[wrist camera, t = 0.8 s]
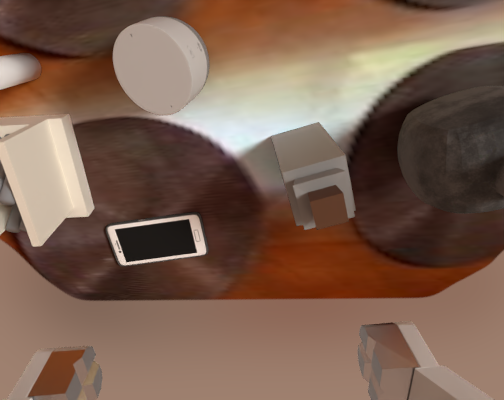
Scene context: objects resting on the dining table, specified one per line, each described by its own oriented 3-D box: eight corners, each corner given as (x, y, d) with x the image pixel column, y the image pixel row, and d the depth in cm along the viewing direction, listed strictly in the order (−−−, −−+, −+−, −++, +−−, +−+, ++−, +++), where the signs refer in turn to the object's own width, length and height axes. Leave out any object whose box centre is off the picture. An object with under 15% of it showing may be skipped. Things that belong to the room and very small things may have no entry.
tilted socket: (-16, 118, 48) (-92, 147, 36) (69, 113, 48) (18, 141, 37) (19, 212, 54) (-37, 262, 43) (94, 208, 54) (58, 256, 43)
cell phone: (209, 251, 59) (209, 255, 58) (120, 263, 59) (118, 267, 58) (200, 209, 55) (199, 213, 54) (105, 223, 56) (103, 226, 55)
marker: (9, 52, 44) (-56, 61, 34) (37, 51, 44) (-20, 59, 34) (18, 81, 46) (-42, 98, 36) (45, 80, 46) (-7, 96, 36)
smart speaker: (120, 38, 44) (74, 45, 32) (187, 2, 43) (166, -6, 30) (161, 109, 48) (135, 141, 35) (224, 78, 47) (219, 100, 34)
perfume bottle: (282, 179, 53) (303, 248, 37) (271, 136, 50) (287, 191, 34) (328, 166, 52) (369, 231, 36) (318, 122, 50) (358, 171, 33)
